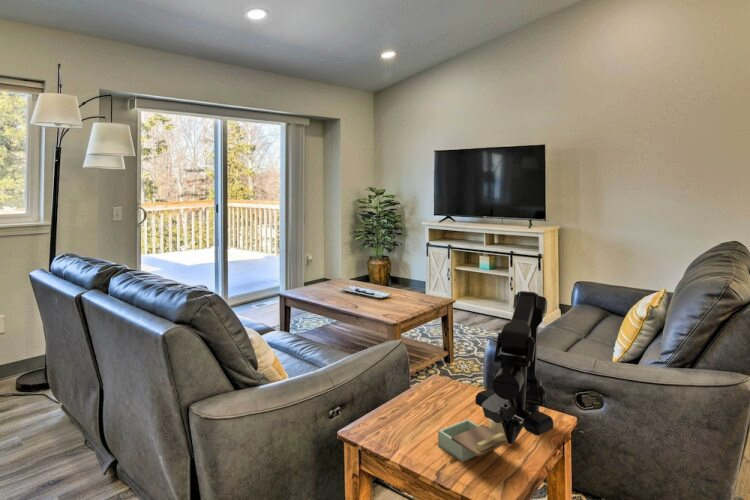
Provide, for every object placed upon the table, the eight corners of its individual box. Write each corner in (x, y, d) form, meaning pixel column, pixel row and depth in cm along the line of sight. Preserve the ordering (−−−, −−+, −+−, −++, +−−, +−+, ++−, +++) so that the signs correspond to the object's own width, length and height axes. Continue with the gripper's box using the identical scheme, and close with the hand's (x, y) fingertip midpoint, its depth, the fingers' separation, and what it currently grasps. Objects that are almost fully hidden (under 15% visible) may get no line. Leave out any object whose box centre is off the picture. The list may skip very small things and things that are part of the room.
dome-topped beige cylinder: (496, 429, 132) (497, 412, 131) (510, 436, 128) (511, 420, 127) (484, 434, 129) (485, 417, 129) (498, 442, 125) (499, 425, 125)
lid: (482, 426, 125) (482, 418, 124) (509, 441, 117) (510, 433, 117) (451, 439, 118) (451, 431, 118) (478, 456, 111) (478, 448, 110)
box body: (466, 433, 129) (467, 419, 129) (491, 448, 122) (492, 433, 122) (437, 445, 123) (438, 430, 123) (461, 462, 116) (462, 446, 115)
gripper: (460, 376, 110) (458, 436, 113) (524, 406, 95) (521, 475, 97) (491, 366, 117) (489, 423, 119) (556, 393, 101) (552, 458, 104)
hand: (510, 443), depth 109 cm, fingers closed
